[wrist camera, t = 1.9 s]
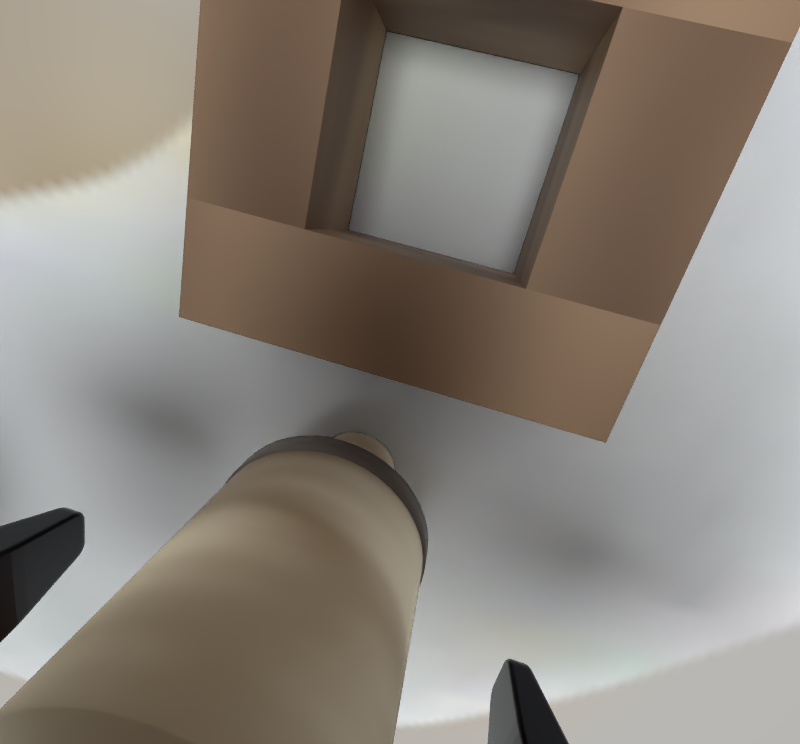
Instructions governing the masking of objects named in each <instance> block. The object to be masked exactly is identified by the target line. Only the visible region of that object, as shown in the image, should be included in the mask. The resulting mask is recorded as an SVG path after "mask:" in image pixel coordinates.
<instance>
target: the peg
mask: <svg viewBox="0 0 800 744" xmlns="http://www.w3.org/2000/svg"><path fill="white" fill-rule="evenodd" d="M427 548H428V532H427V525H426V521H425V516H424V514H423V511H422V509H421V506H420V504H419V502H418V500H417V498H416V496H415V494H414V493H413V491H412V490H411V488H410V487H409V486H408V484H407V483H406V482H405V480H404V479H403V478H402V477H401V476H400V475H399V474H398V473H397V472H396V471H395V466H394V462H393V459H392V457H391V455H390V453H389V451H388V450H387V449H386V448H385V446H384V445H383V444H382V443H380V442H379V441H378V440H376V439H375V438H373V437H371V436H369V435H366V434H362V433H356V432H349V433H343V434H340V435H337V436H335V437H334V438H331V437H323V436H297V437H289V438H286V439H282V440H278V441H276V442H273V443H271V444H269V445H266V446H265V447H263V448H261V449H260V450H258V451H257V452H255V453H254V454H253V455H252V456H251V457H250V458H248V459H247V460H246V461H245V462H244V463H243V464H242V465H241V466H240V467H239V468H238V469H237V470H236V471H235V472H234V473H233V474H232V476H231V477H230V478H229V479H228V481H227V482H226V484H225V485H224V486H223V487H222V488H221V489H220V490H219V491H218V492H217V493H216V494H215V495H214V496H213V497H212V498H211V499H210V500H209V501H208V502H207V503H206V504H205V505H204V506H203V507H202V508H201V509H200V510H199V511H198V512H197V513H196V514H195V515H194V516H193V517H192V518H191V519H190V520H189V521H188V522H187V523H186V524H185V525H184V526H183V527H182V528H181V529H180V530H179V531H178V532H177V533H176V534H175V535H174V536H173V537H172V538H171V539H170V540H169V541H168V542H167V543H166V544H165V545H164V546H163V547H162V548H161V549H160V550H159V551H158V552H157V553H156V554H155V555H154V556H153V557H152V558H151V559H150V560H149V561H148V562H147V563H146V564H145V565H144V566H143V567H142V568H141V569H140V570H139V571H138V572H137V573H136V574H135V575H134V576H133V577H132V578H131V579H130V580H129V581H128V582H127V583H126V584H125V585H124V586H123V587H122V588H121V589H120V590H119V591H118V592H117V593H116V594H115V595H114V596H113V597H112V598H111V599H110V600H109V601H108V602H107V603H106V604H105V605H104V606H103V607H102V608H101V609H100V610H99V611H98V612H97V613H96V614H95V615H94V616H93V617H92V618H91V619H90V620H89V621H88V622H87V623H86V624H85V625H84V626H83V627H82V628H81V629H80V630H79V631H78V632H77V633H76V634H75V635H74V636H73V637H72V638H71V639H70V640H69V641H68V642H67V643H66V644H65V645H64V646H63V647H62V648H61V649H60V650H59V651H58V652H57V653H56V654H55V655H54V656H53V657H52V658H51V659H50V660H49V661H48V662H47V663H46V664H45V665H44V666H43V667H42V668H41V669H40V670H39V671H38V672H37V673H36V674H35V675H34V676H33V677H32V678H31V679H30V680H29V681H28V682H27V683H26V684H25V685H24V686H23V687H22V688H21V689H20V690H19V691H18V692H17V693H16V694H15V695H14V696H13V697H12V698H11V699H10V700H9V701H8V702H7V703H6V704H5V705H4V706H3V707H2V708H1V709H0V744H393V741H394V735H395V729H396V723H397V717H398V711H399V705H400V699H401V693H402V687H403V681H404V675H405V669H406V663H407V657H408V651H409V645H410V639H411V633H412V627H413V621H414V615H415V609H416V603H417V597H418V591H419V586H420V584H421V581H422V577H423V573H424V569H425V563H426V556H427Z"/></svg>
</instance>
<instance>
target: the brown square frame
mask: <svg viewBox="0 0 800 744" xmlns="http://www.w3.org/2000/svg"><path fill="white" fill-rule="evenodd" d="M799 27H800V0H201V1H200V17H199V32H198V46H197V61H196V76H195V90H194V105H193V120H192V134H191V149H190V164H189V179H188V193H187V208H186V223H185V238H184V252H183V267H182V282H181V297H180V311H179V317H181V318H185V319H188V320H191V321H195V322H198V323H201V324H205V325H208V326H212V327H215V328H218V329H222V330H225V331H229V332H232V333H235V334H239V335H242V336H246V337H249V338H252V339H256V340H259V341H263V342H266V343H269V344H273V345H276V346H280V347H283V348H286V349H290V350H293V351H296V352H300V353H303V354H307V355H310V356H313V357H317V358H320V359H324V360H327V361H330V362H334V363H337V364H341V365H344V366H347V367H351V368H354V369H358V370H361V371H364V372H368V373H371V374H374V375H378V376H381V377H385V378H388V379H391V380H395V381H398V382H402V383H405V384H408V385H412V386H415V387H419V388H422V389H425V390H429V391H432V392H436V393H439V394H442V395H446V396H449V397H453V398H456V399H459V400H463V401H466V402H469V403H473V404H476V405H480V406H483V407H486V408H490V409H493V410H497V411H500V412H503V413H507V414H510V415H514V416H517V417H520V418H524V419H527V420H531V421H534V422H537V423H541V424H544V425H547V426H551V427H554V428H558V429H561V430H564V431H568V432H571V433H575V434H578V435H581V436H585V437H588V438H592V439H595V440H598V441H602V442H605V443H606V441H607V439H608V437H609V434H610V432H611V430H612V428H613V426H614V424H615V422H616V419H617V417H618V415H619V413H620V411H621V409H622V407H623V404H624V402H625V400H626V398H627V396H628V394H629V392H630V389H631V387H632V385H633V383H634V381H635V379H636V377H637V374H638V372H639V370H640V368H641V366H642V364H643V362H644V359H645V357H646V355H647V353H648V351H649V349H650V347H651V344H652V342H653V340H654V338H655V336H656V334H657V332H658V329H659V327H660V325H661V323H662V321H663V319H664V317H665V314H666V312H667V310H668V308H669V306H670V304H671V301H672V299H673V297H674V295H675V293H676V291H677V289H678V286H679V284H680V282H681V280H682V278H683V276H684V274H685V271H686V269H687V267H688V265H689V263H690V261H691V259H692V256H693V254H694V252H695V250H696V248H697V246H698V244H699V241H700V239H701V237H702V235H703V233H704V231H705V229H706V226H707V224H708V222H709V220H710V218H711V216H712V214H713V211H714V209H715V207H716V205H717V203H718V201H719V199H720V196H721V194H722V192H723V190H724V188H725V186H726V184H727V181H728V179H729V177H730V175H731V173H732V171H733V169H734V166H735V164H736V162H737V160H738V158H739V156H740V153H741V151H742V149H743V147H744V145H745V143H746V141H747V138H748V136H749V134H750V132H751V130H752V128H753V126H754V123H755V121H756V119H757V117H758V115H759V113H760V111H761V108H762V106H763V104H764V102H765V100H766V98H767V96H768V93H769V91H770V89H771V87H772V85H773V83H774V81H775V78H776V76H777V74H778V72H779V70H780V68H781V66H782V63H783V61H784V59H785V57H786V55H787V53H788V51H789V48H790V46H791V44H792V42H793V40H794V38H795V36H796V33H797V31H798V29H799ZM386 30H387V31H391V32H395V33H400V34H404V35H409V36H413V37H418V38H422V39H426V40H431V41H435V42H440V43H444V44H449V45H453V46H457V47H462V48H466V49H471V50H475V51H480V52H484V53H488V54H493V55H497V56H502V57H506V58H511V59H515V60H519V61H524V62H528V63H533V64H537V65H542V66H546V67H550V68H555V69H559V70H564V71H568V72H573V73H577V74H580V75H579V78H578V81H577V84H576V87H575V90H574V93H573V96H572V99H571V102H570V105H569V108H568V111H567V114H566V117H565V120H564V123H563V126H562V129H561V132H560V135H559V138H558V141H557V144H556V147H555V150H554V153H553V156H552V159H551V162H550V165H549V168H548V171H547V174H546V177H545V180H544V183H543V186H542V189H541V192H540V195H539V198H538V202H537V205H536V208H535V211H534V214H533V217H532V220H531V223H530V226H529V229H528V232H527V235H526V238H525V241H524V244H523V247H522V250H521V253H520V256H519V259H518V262H517V265H516V268H515V271H514V274H512V273H508V272H504V271H500V270H497V269H493V268H489V267H485V266H482V265H478V264H474V263H470V262H467V261H463V260H459V259H455V258H452V257H448V256H444V255H441V254H437V253H433V252H429V251H426V250H422V249H418V248H414V247H411V246H407V245H403V244H399V243H396V242H392V241H388V240H384V239H381V238H377V237H373V236H369V235H366V234H362V233H358V232H355V231H351V230H348V227H349V222H350V217H351V212H352V207H353V201H354V196H355V191H356V186H357V181H358V175H359V170H360V165H361V160H362V155H363V149H364V144H365V139H366V134H367V129H368V123H369V118H370V113H371V108H372V103H373V98H374V92H375V87H376V82H377V77H378V72H379V66H380V61H381V56H382V51H383V46H384V40H385V35H386Z"/></svg>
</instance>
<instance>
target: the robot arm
mask: <svg viewBox="0 0 800 744" xmlns="http://www.w3.org/2000/svg"><path fill="white" fill-rule="evenodd" d="M84 543H85V525H84V516H83V514H82V513H80V512H78V511H75V510H72V509H69V508H59V509H55V510H52V511H48V512H45V513H42V514H39V515H35V516H32V517H29V518H26V519H22V520H19V521H16V522H13V523H9V524H6V525H3V526H0V642H1V641H2V640H3V639H4V638H5V637H6V636H7V635H8V634H9V633H10V632H11V631H12V630H13V629H14V628H15V627H16V626H17V625H18V624H19V623H20V622H21V621H22V620H23V619H24V617H25V616H26V615H27V614H28V613H29V612H30V611H31V610H32V609H33V607H34V606H35V605H36V604H37V603H38V602H39V601H40V599H41V598H42V597H43V596H44V595H45V594H46V593H47V591H48V590H49V589H50V588H51V587H52V586H53V585H54V583H55V582H56V581H57V580H58V579H59V578H60V577H61V575H62V574H63V573H64V572H65V571H66V570H67V569H68V567H69V566H70V565H71V564H72V563H73V562H74V561H75V559H76V558H77V557H78V556H79V555H80V553H81V551H82V549H83V547H84ZM488 744H569V743H568V741H567V739H566V737H565V736H564V733H563V731H562V729H561V727H560V726H559V724H558V722H557V720H556V718H555V716H554V714H553V712H552V710H551V708H550V706H549V704H548V702H547V700H546V698H545V696H544V694H543V692H542V690H541V688H540V686H539V684H538V682H537V680H536V678H535V676H534V674H533V673H532V671H531V669H530V668H529V666H528V665H526V664H524V663H521V662H518V661H515V660H512V659H507V660H506V661H505V662H504V664H503V666H502V669H501V671H500V673H499V675H498V677H497V679H496V681H495V684H494V686H493V689H492V693H491V701H490V717H489V733H488Z"/></svg>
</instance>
